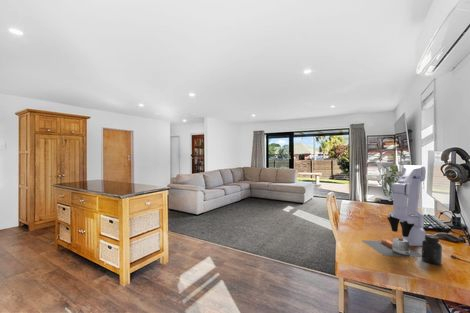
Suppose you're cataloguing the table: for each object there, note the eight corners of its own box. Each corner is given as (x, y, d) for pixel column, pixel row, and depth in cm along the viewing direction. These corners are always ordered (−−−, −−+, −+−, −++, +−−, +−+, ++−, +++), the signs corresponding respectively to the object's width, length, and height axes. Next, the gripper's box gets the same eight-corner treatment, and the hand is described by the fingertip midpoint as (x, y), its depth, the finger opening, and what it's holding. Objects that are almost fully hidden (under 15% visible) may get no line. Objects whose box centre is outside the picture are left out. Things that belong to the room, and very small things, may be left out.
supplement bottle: (417, 259, 103) (417, 233, 103) (431, 258, 103) (431, 233, 104) (432, 266, 96) (432, 238, 96) (446, 265, 97) (446, 238, 97)
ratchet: (390, 242, 122) (390, 235, 122) (413, 256, 105) (413, 247, 105) (377, 242, 122) (377, 234, 122) (398, 255, 105) (398, 247, 105)
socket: (402, 247, 111) (402, 237, 111) (408, 251, 106) (408, 240, 106) (392, 246, 111) (392, 236, 111) (398, 250, 107) (399, 240, 107)
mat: (397, 242, 124) (397, 241, 124) (426, 258, 104) (426, 257, 104) (361, 240, 125) (361, 240, 125) (383, 256, 105) (383, 255, 105)
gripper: (382, 203, 118) (382, 229, 117) (402, 210, 103) (402, 238, 103) (396, 204, 117) (396, 229, 117) (417, 210, 103) (417, 239, 103)
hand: (399, 233), depth 110 cm, fingers open, 7 cm apart
